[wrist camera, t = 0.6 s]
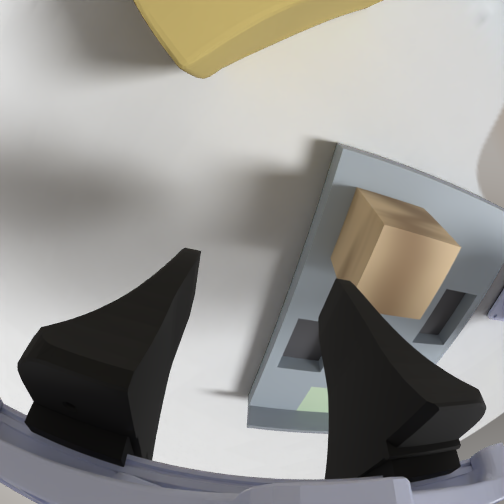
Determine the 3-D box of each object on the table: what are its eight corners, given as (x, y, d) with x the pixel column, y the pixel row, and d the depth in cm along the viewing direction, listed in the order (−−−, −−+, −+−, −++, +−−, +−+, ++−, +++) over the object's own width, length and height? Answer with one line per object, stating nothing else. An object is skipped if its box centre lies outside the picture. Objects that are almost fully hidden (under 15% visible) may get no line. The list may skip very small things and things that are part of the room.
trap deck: (513, 213, 19) (541, 236, 16) (386, 405, 32) (393, 432, 29) (337, 142, 18) (354, 159, 14) (248, 395, 31) (246, 427, 28)
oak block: (423, 208, 18) (461, 247, 14) (394, 271, 21) (419, 319, 16) (356, 187, 18) (384, 224, 13) (330, 257, 20) (346, 308, 16)
